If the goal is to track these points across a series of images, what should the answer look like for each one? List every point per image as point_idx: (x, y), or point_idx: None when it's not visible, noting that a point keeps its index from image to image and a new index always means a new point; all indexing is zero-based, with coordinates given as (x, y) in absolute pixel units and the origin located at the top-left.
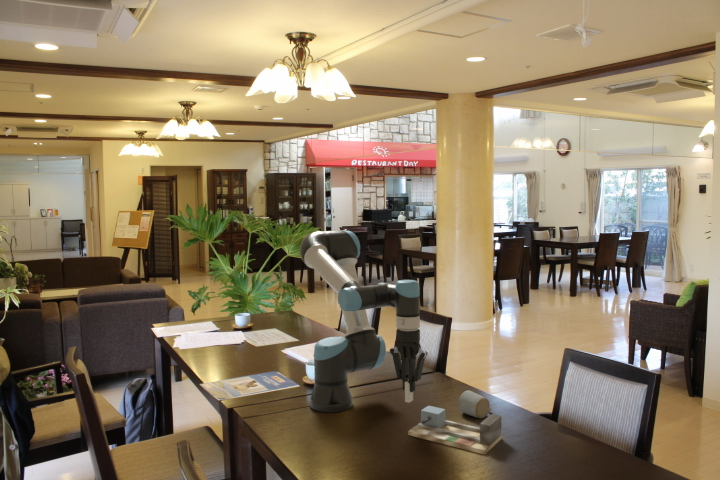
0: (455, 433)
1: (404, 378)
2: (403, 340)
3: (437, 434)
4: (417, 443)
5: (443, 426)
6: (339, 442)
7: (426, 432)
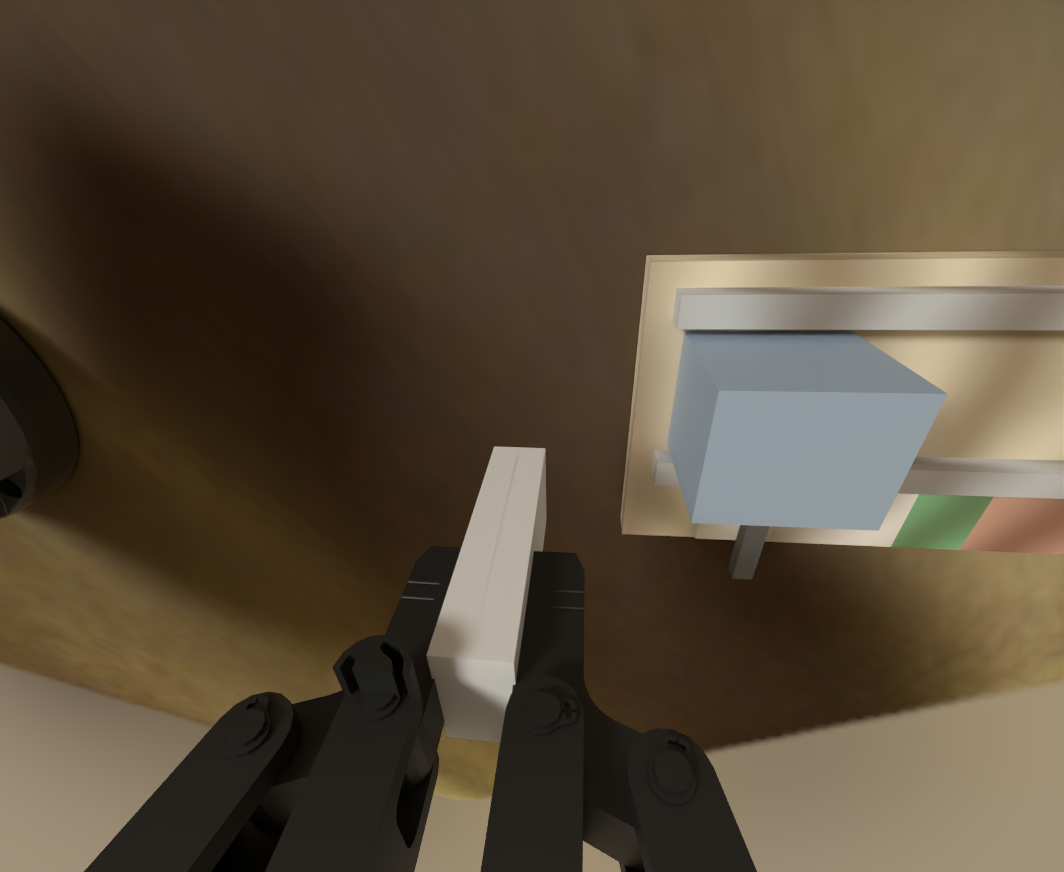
0: (978, 491)
1: (419, 796)
2: None
3: None
4: (712, 572)
5: None
6: None
7: None
